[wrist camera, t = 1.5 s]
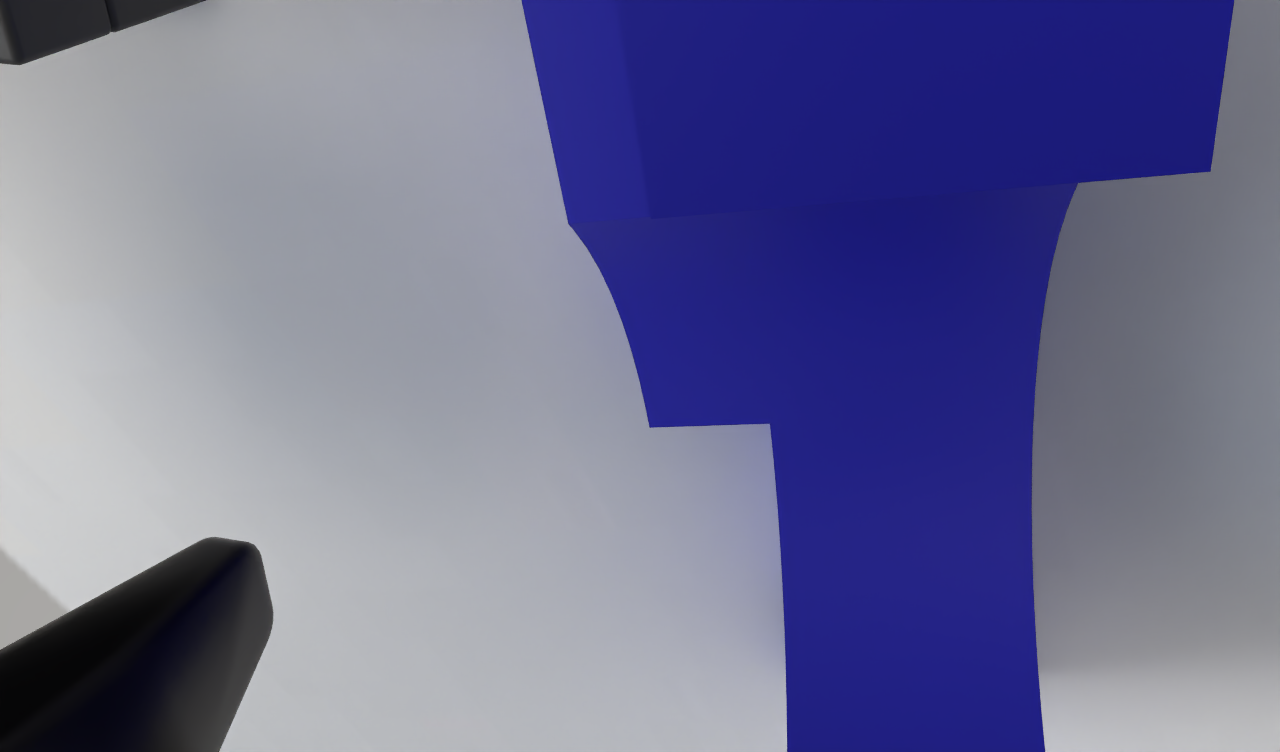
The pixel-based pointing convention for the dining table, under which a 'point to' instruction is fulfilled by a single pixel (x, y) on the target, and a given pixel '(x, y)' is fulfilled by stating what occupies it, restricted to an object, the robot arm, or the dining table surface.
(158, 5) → the power strip
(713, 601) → the dining table surface
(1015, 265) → the cable clip
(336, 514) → the dining table surface
